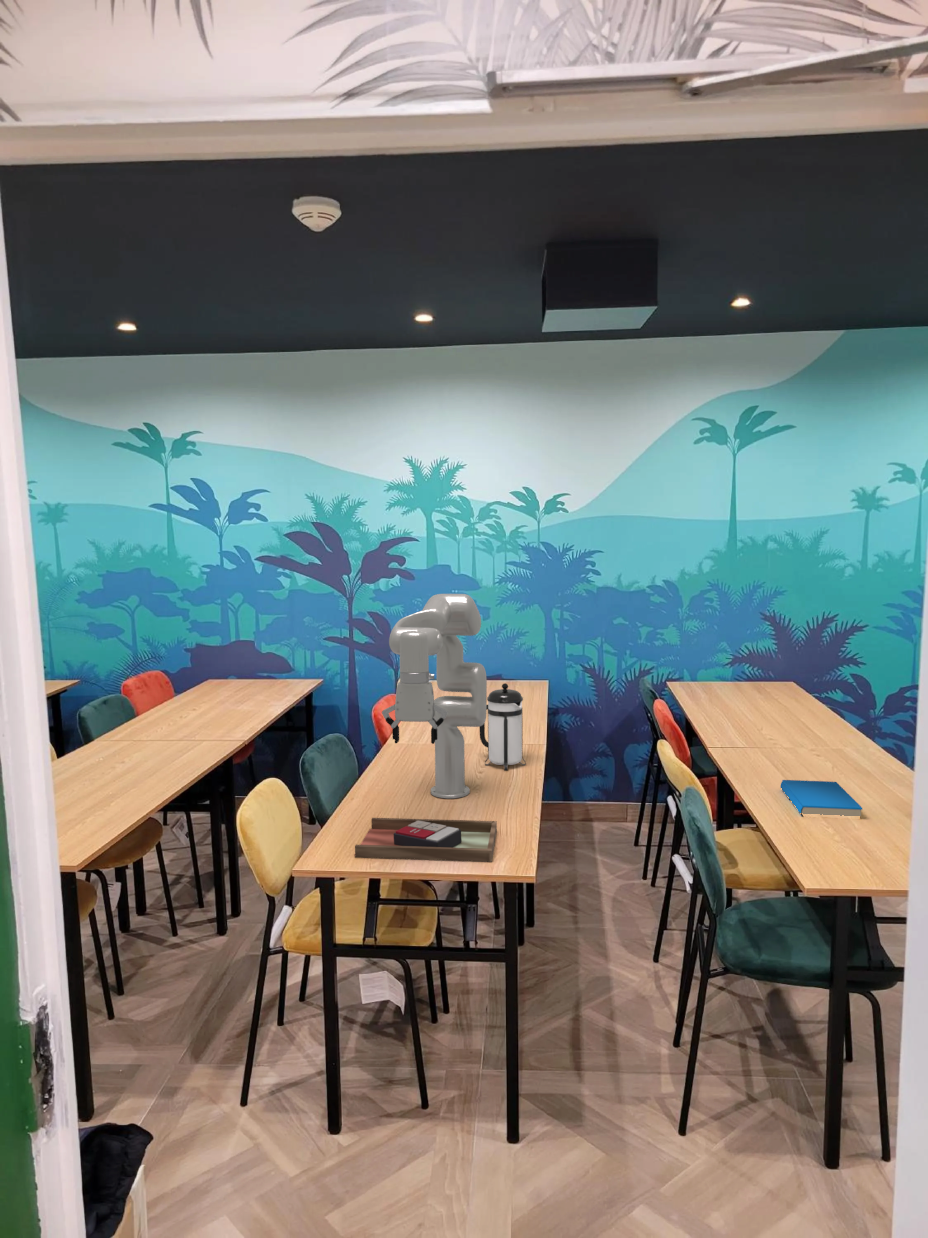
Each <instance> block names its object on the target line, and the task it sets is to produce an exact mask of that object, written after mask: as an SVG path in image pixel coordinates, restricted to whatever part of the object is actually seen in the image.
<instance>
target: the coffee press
mask: <svg viewBox="0 0 928 1238" xmlns="http://www.w3.org/2000/svg"><path fill="white" fill-rule="evenodd" d="M508 688H509V685H508V684H507V683H502V684H501V688H500V689H495V690H492V691H491V692H490V693H489V694H488V696H487V704H486V711H487V738H488V740H487V739H486V735H485V734H486V733H485V732H486V731H485V730H486V729H485V727H486V724H485V723H486V722H485V723H484V724H483V725H482V726H479V740H480V742H481V744H482V745H483V746H484V747H486V748H487V752H488V757H486V760H485V761H484V765H485V766H487V767H488V766H489V765H491V764H494V765H500V766H503V771H504V772H505V771H506V772H507V771H509V767H508V766H512V765H516V764H520V765H522V766H526V764H527V763H526V760H525V759H524V757H523V754H524V753H523V746H524V745H523V743H524V741H523V734H524V733H523V732H524V731H523V729H524V728H523V727H524V725H523V701H524V697H523V696H522V694H521V692H519V691H518V690H516V689H510V688H509V689H508ZM488 760H489V761H490V762H488V763H487V761H488ZM522 761H524V764H523V763H522Z"/></svg>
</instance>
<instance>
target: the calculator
mask: <svg viewBox="0 0 928 1238" xmlns="http://www.w3.org/2000/svg"><path fill="white" fill-rule="evenodd" d="M461 842H462V839H461V830H460V829H458V828H453V827H446V825H440V824H435V823H432V824H431V823H429V822H424V821H416V822H414V823H412V824H410V825H408V826H406V827H403V828H401V829H399V830H397V831H396V833H394V844H395V845H400V846H419V847H451V848H453V847H454V846H456V845H458V844H460V843H461Z"/></svg>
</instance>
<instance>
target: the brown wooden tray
mask: <svg viewBox="0 0 928 1238" xmlns="http://www.w3.org/2000/svg"><path fill="white" fill-rule="evenodd" d="M370 819H371V822H370V823H371V828H369V829H368V831H367V833H366V834H365V836H364V838H363V839H362V841H361V843H360V844H355V845H354V854H353V856H354V858H355V859H356V858H357V859H358V858H360V859H362V858H364V859H390V860H393V859H394V860H415V861H416V860H419V861H420V860H421V861H447V862H448V861H453V862H455V861H456V862H476V863H477V862H482V863H483V862H484V863H492V862H493V857H494V851H495V844H496V839H497V833H498V826H497V824H498V823H497V822H498V821H497V820H471V819H470V820H467V819H463V820H462V819H437V818H436V819H430V818H399V817H398V818H397V817H371V818H370ZM416 821H424V822H429V823H431V824H432V823H435V824H440V825H446V827H453V828H458V829H460V830H461V839H462V842H461V843H460V844H458V845H456V846H454V847H453V848H451V847H419V846H400V845H395V844H394V833H396V831H397V830H399V829H401V828H403V827H406V826H408V825H410V824H412V823H414V822H416Z"/></svg>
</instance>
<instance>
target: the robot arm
mask: <svg viewBox="0 0 928 1238" xmlns="http://www.w3.org/2000/svg"><path fill="white" fill-rule="evenodd" d="M481 627H482V617H481V614H480V611H479V609H478V606H477V604H476V603H475V601H474V599H473V598H472V596H471V595H468V594H467V593H466V594H465V593H438V594H434V595H432V596H431V597H430V598H428V600H427V602H426V603H425V605H424V606H423V609H422V610H420V611H417V612H415V613H412V614H409V615H407V616H404V617H402V618H400V619H399V620H398V621H397V622H396V623H395V625H394V626H393V628H392V629H391V631H390V634H389V638H388V645H389V648H390V650H391V651H392V653H394V654H395V655H399V682H398V683H397V685H396V691H395V692H396V693H395V704H393V705H391V706H389V707H387V708H384V709H382V712H381V714H382V716H383V718H384V720H385V722H386V723H387V724H388V725H389V726H390V727H391V729H392V732H391V733H392V740H394V744H398V743H399V742H400V726H399V725H398V724H399V723H401V722H412V723H413V722H415V723H416V722H418V723H420V722H423V723H424V722H425V723H427V722H428V724H429V725H430V726H431V728H430V744H431V745H433V744H434V767H435V768H434V772H435V775H434V777H435V779H434V780H435V781H434V783H435V785H433V786H432V787H431V788H430V794H431V796H434V797H436V798H439V799H451V800H452V799H459V798H464V797H466V796H468V795H469V794H470V792H471V791H470V790H471V789H470V787H469V786H467V785H466V783H465V782H466V781H465V780H466V778H465V777H466V775H465V772H466V770H465V765H466V764H465V761H466V760H465V738H464V735H463V732H461V730H460V729H459V728H458V727H462V728H463V727H464V728H466V727H468V728H476V727H477V728H478V727H479V728H480V726H482V725H483V724H484V723H486V720H487V710H486V705H487V704H488V700H487V697H488V696H487V688H488V687H487V685H488V684H487V673H486V669H485V667H484V665H483V664H482V663H478V662H470V661H469V662H465V661H464V645H463V643H462V641H461V640H460V639H459V637H458V636H466V637H467V636H468V637H469V636H471V637H472V636H476V635H477V634H478V633H479V632H480V631H481ZM435 655H436V684H437V688H438V689H439V690H441V691H443V692H448V693H449V692H450V693H469V694H470V695H471V696H464V695H463V696H462V695H460V696H459V695H443V696H438V697H437V698H435V694H434V687H433V683H432V682H431V681H430V680H434V679H435V673H432V672H431V673H430V671H429V666H430V665H429V656H435ZM393 711H394V717H395V720H394V719H393V718H392V717H391V716H390V714H389V713H391V712H393Z"/></svg>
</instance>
